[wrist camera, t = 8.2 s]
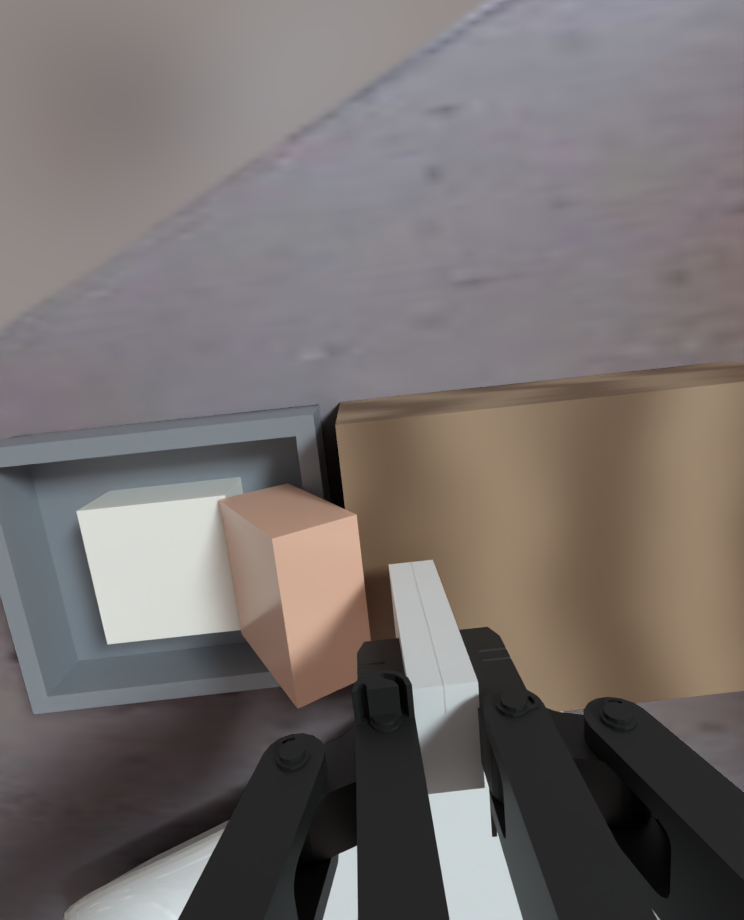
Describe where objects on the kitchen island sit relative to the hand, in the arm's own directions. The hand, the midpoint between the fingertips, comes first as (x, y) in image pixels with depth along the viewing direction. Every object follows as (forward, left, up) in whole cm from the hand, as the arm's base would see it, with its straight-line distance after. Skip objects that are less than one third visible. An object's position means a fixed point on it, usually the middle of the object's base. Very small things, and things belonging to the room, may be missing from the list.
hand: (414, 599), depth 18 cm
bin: (-10, 0, -8) cm, 13 cm away
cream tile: (-10, 0, -4) cm, 11 cm away
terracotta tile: (-3, 0, -3) cm, 4 cm away
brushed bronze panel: (+7, 0, -8) cm, 11 cm away
